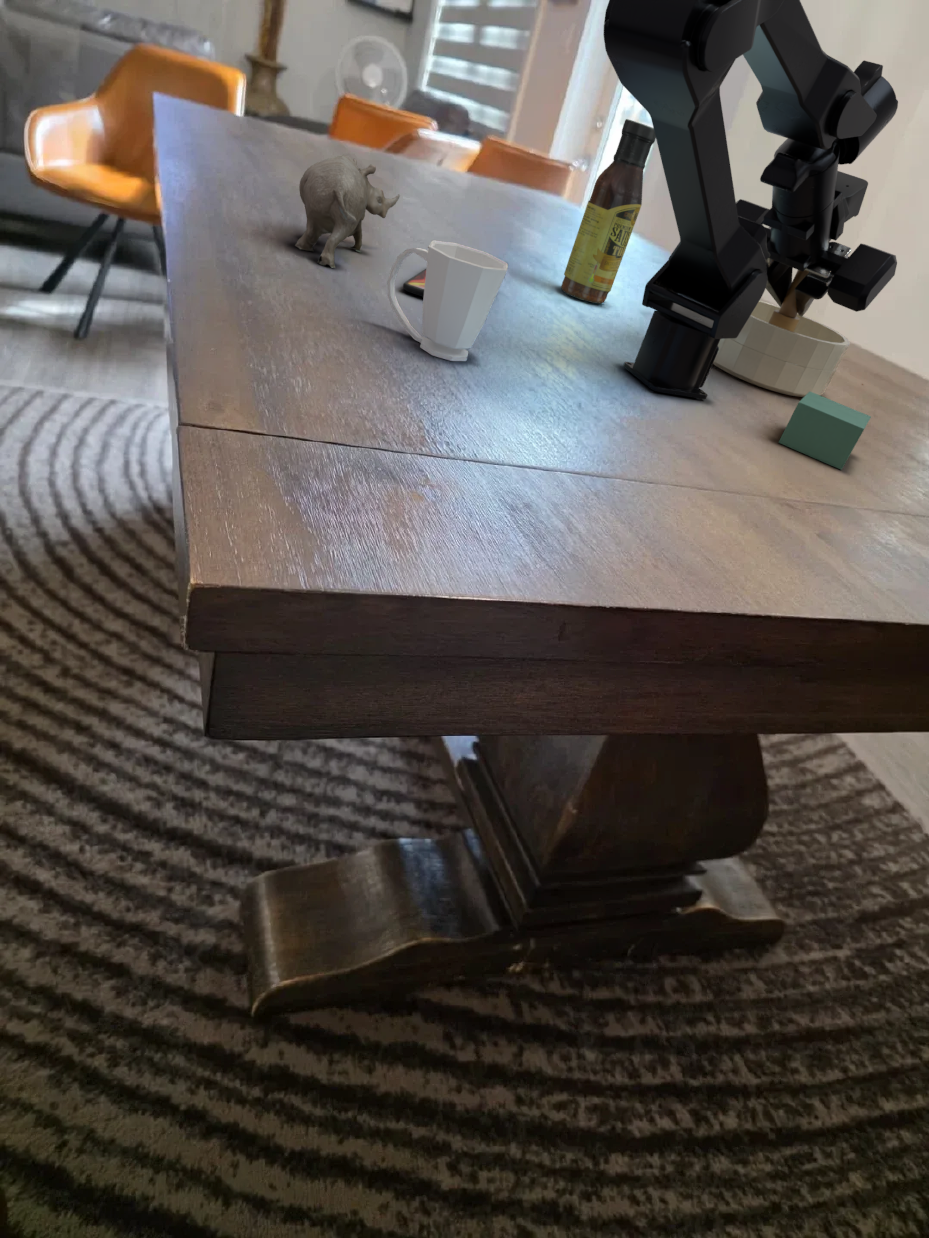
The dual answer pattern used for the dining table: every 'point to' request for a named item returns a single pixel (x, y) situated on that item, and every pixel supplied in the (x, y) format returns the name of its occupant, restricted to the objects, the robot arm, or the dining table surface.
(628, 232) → the sauce bottle
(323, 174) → the rhinoceros figurine
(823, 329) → the bowl
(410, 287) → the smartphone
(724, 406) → the dining table surface
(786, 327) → the wooden peg
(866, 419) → the stand
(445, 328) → the cup
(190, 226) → the dining table surface
